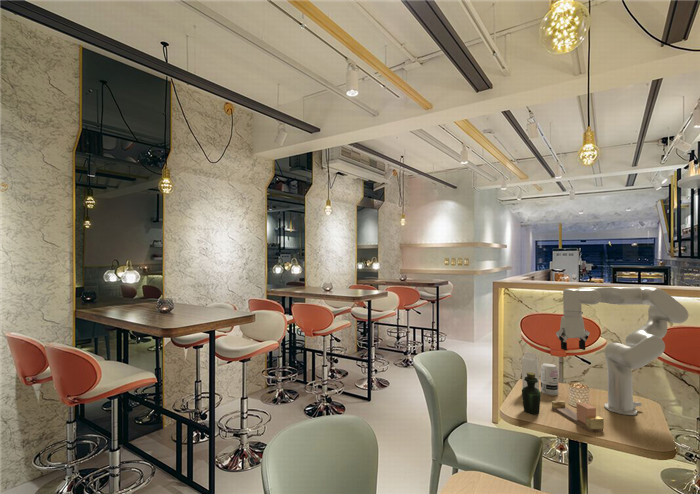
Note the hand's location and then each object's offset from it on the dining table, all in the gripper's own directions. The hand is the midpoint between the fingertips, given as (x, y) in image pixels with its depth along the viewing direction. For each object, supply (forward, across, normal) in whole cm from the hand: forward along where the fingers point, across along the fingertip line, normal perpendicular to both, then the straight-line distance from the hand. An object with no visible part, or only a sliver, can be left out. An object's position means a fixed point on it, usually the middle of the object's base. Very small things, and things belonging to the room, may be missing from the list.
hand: (573, 349), depth 171 cm
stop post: (+27, +8, +21) cm, 35 cm away
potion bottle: (+28, +23, +1) cm, 37 cm away
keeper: (+27, +8, +16) cm, 32 cm away
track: (+28, +8, +10) cm, 31 cm away
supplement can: (+28, -2, -20) cm, 35 cm away
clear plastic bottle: (+28, +9, -20) cm, 36 cm away
